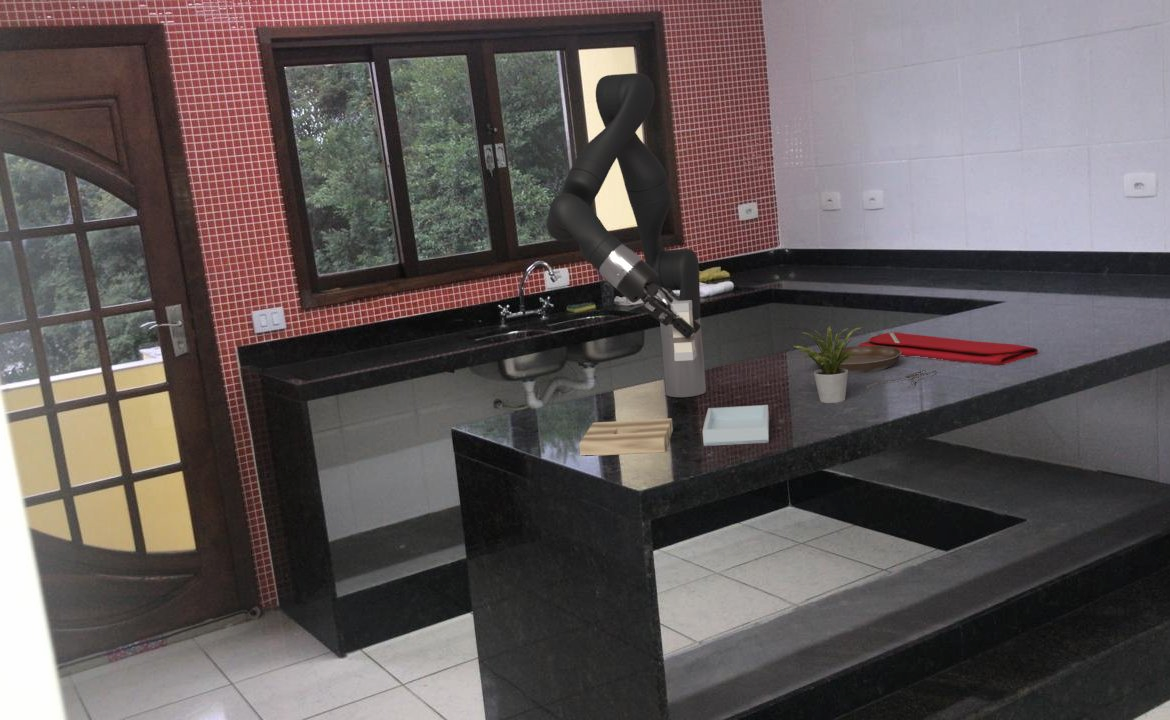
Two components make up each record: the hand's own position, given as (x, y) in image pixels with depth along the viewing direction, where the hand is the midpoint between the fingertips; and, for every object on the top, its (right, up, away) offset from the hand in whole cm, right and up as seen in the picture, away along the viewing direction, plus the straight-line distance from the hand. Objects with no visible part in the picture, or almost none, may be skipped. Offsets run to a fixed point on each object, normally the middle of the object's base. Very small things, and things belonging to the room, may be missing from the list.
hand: (694, 332), depth 204 cm
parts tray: (+9, -19, +4) cm, 22 cm away
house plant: (+33, -14, +24) cm, 42 cm away
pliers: (+50, -11, +35) cm, 61 cm away
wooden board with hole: (-12, -21, +4) cm, 25 cm away
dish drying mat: (+68, -4, +60) cm, 91 cm away
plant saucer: (+45, -7, +55) cm, 72 cm away
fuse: (-2, -5, +2) cm, 6 cm away
